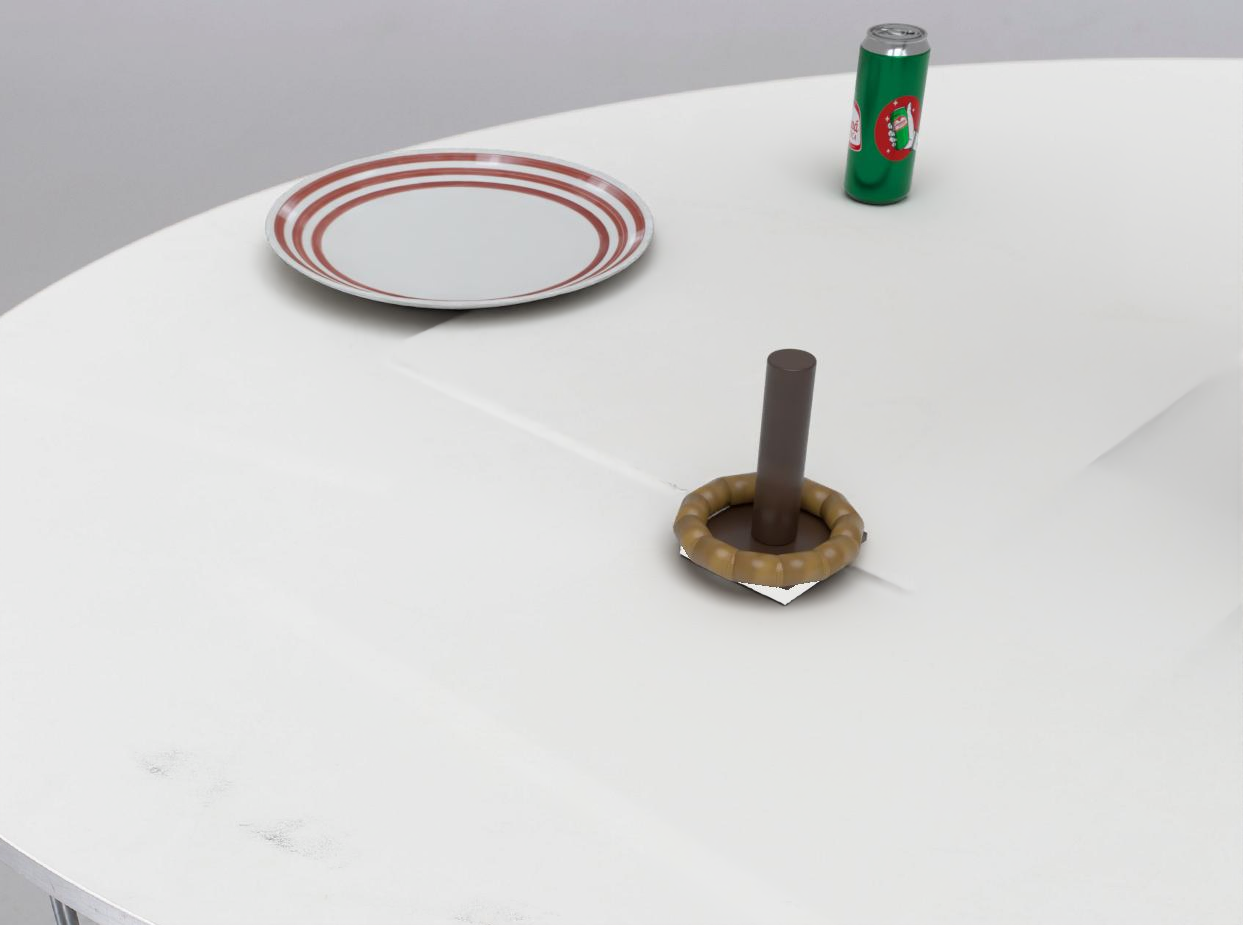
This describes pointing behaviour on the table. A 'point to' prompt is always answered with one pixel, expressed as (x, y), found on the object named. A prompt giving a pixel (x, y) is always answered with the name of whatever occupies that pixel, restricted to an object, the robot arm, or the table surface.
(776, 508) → the stand
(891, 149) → the soda can
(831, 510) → the ring
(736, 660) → the table surface
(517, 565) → the table surface
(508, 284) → the dinner plate
